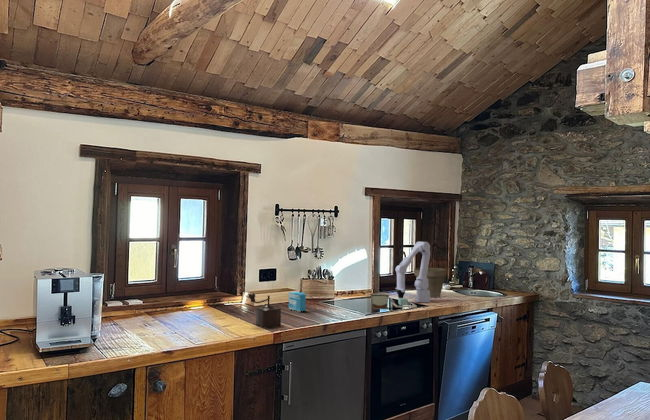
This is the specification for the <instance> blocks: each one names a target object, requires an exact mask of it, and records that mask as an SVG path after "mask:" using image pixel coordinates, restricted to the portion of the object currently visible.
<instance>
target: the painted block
mask: <svg viewBox="0 0 650 420" xmlns="http://www.w3.org/2000/svg"><path fill="white" fill-rule="evenodd" d="M397 301H398V302H397V303H398V305H399V306H409V305H408V303H409V300H408V298H406V297H403V298H398V299H397Z"/></svg>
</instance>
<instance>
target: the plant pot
mask: <svg viewBox="0 0 650 420" xmlns="http://www.w3.org/2000/svg"><path fill="white" fill-rule="evenodd" d="M419 273H420V267H417V268H414V269H413V274H414V276H415V278H417V277H418V276H419ZM446 276H447V269H445V268H443V267H442V268H441V267H428V271H427V279H428V284H429V286H428V288H427V290H429V291H430V299H431V298H432V299H433V298H435V299H436V298H440V297H441V294H442V291H443V287H444V282H445V277H446ZM422 281H423V280H422Z"/></svg>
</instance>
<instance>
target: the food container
mask: <svg viewBox="0 0 650 420" xmlns="http://www.w3.org/2000/svg"><path fill="white" fill-rule="evenodd" d="M370 298H371V302H372V309H373V310H388V303H389V298H390V294H389V293H385V292H372V293H371V294H370Z"/></svg>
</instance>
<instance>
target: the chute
mask: <svg viewBox="0 0 650 420" xmlns="http://www.w3.org/2000/svg"><path fill="white" fill-rule="evenodd" d="M390 302H391V304H392V306H394V307H395V308H418V307H417V305H416V304H414V303H413V302H410V305H397V304H396V303H395V300H393V299H392V298H390ZM411 304H412V305H411Z"/></svg>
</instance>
